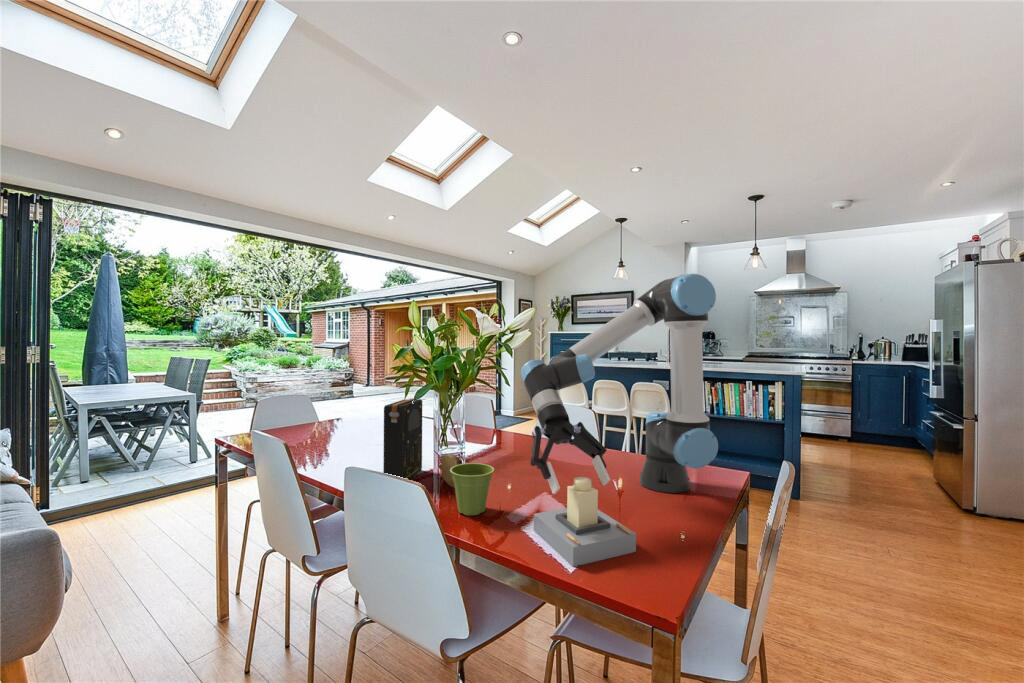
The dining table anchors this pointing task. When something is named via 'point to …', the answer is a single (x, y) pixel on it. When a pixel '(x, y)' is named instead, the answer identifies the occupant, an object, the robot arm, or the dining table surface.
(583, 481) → the dome-topped cream pillar
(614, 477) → the dining table surface
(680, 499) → the dining table surface
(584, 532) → the ball-topped post base
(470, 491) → the plant pot
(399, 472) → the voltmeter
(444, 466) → the wooden carving
